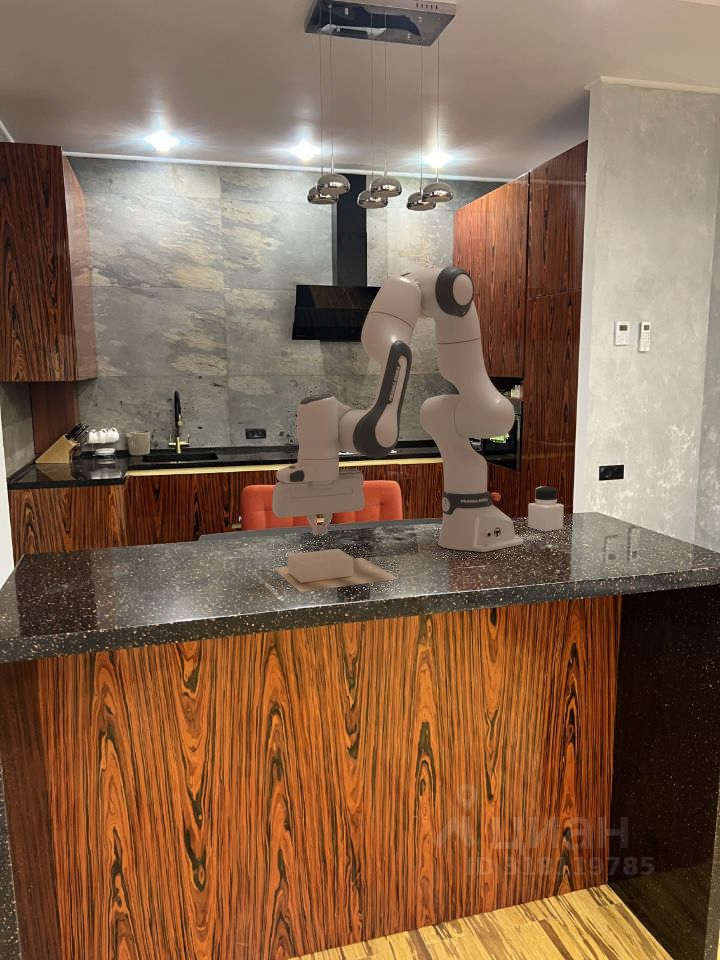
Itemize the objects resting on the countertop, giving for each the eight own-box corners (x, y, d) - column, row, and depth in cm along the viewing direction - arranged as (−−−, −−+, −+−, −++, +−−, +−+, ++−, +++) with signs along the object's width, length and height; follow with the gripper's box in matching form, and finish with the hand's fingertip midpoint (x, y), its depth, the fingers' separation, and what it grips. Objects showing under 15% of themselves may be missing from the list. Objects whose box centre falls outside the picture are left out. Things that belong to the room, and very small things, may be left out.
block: (338, 548, 160) (287, 554, 155) (353, 557, 151) (300, 564, 147) (338, 566, 160) (287, 573, 156) (353, 576, 152) (300, 583, 147)
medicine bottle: (563, 529, 201) (564, 487, 199) (545, 532, 198) (546, 489, 196) (545, 524, 207) (546, 484, 205) (527, 527, 204) (528, 486, 202)
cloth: (362, 561, 169) (362, 557, 168) (398, 583, 150) (398, 578, 150) (273, 572, 160) (273, 568, 160) (300, 596, 142) (300, 591, 142)
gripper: (357, 466, 158) (358, 526, 159) (268, 472, 150) (271, 535, 152) (368, 469, 152) (369, 532, 154) (277, 475, 144) (279, 541, 146)
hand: (319, 534), depth 153 cm, fingers closed
